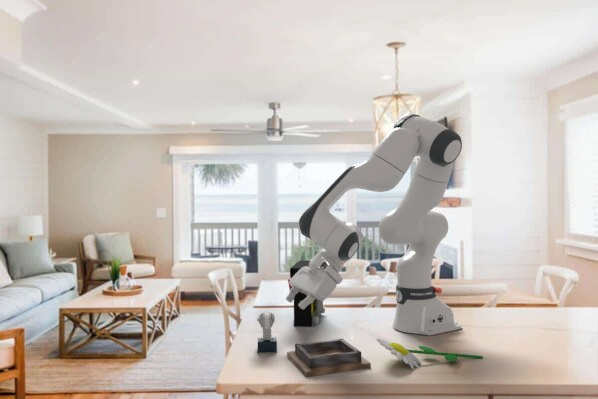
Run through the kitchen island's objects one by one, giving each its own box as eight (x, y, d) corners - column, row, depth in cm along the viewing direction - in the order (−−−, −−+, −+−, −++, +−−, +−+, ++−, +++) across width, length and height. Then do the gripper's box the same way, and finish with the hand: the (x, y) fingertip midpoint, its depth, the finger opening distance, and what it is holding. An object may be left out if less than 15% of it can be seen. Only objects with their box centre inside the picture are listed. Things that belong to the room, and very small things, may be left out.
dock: (345, 348, 143) (345, 336, 143) (370, 367, 128) (370, 353, 128) (287, 356, 137) (286, 343, 137) (306, 376, 122) (305, 362, 122)
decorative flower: (470, 358, 140) (369, 349, 137) (472, 342, 140) (371, 332, 136) (492, 377, 128) (381, 369, 124) (495, 360, 127) (384, 350, 124)
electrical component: (318, 327, 165) (317, 268, 164) (288, 326, 167) (287, 268, 166) (325, 314, 182) (325, 260, 181) (298, 313, 184) (298, 260, 183)
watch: (276, 345, 147) (275, 308, 146) (277, 354, 139) (276, 315, 138) (257, 345, 146) (256, 309, 146) (257, 355, 138) (256, 316, 138)
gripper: (302, 257, 157) (274, 290, 153) (331, 266, 138) (300, 304, 134) (314, 270, 159) (287, 303, 155) (345, 281, 140) (315, 318, 136)
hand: (293, 304), depth 144 cm, fingers open, 8 cm apart
